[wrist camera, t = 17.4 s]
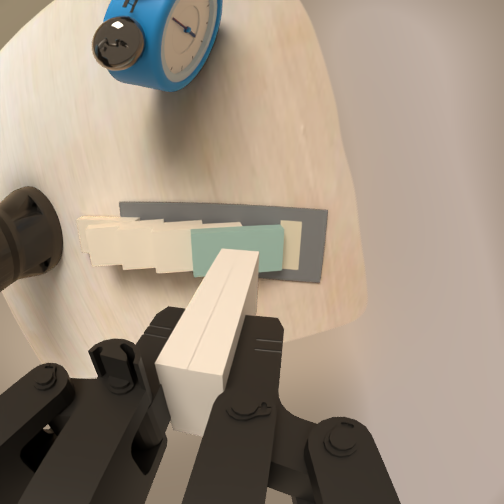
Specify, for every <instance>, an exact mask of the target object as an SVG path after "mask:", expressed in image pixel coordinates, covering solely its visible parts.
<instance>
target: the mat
mask: <svg viewBox="0 0 504 504" xmlns="http://www.w3.org/2000/svg"><path fill="white" fill-rule="evenodd" d="M119 207H120V216H121V217H138V218H140V221H142V220H155V219H164V223H165V222H179V221H194V220H202V224H212V223H230V222H240V223H241V225H242V226H257V225H279V224H280V225H281V226H282V227H283V228H284V244H283V261H282V270H281V271H269V272H258V278H266V279H278V280H291V281H304V282H318V283H320V278H321V270H322V262H323V253H324V244H325V235H326V225H327V214H328V210H321V209H308V208H293V207H278V206H260V205H240V204H217V203H184V202H119ZM188 272H193V271H188Z"/></svg>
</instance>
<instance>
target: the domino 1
mask: <svg viewBox="0 0 504 504" xmlns="http://www.w3.org/2000/svg"><path fill="white" fill-rule="evenodd" d="M76 221H77V228H78V234H79V240H80V245H81V250H82V253H89V249H88V244H87V238H86V232H85V229H86V228H87V227H88V225H97V224H107V223H119V222H130V221H140V218H138V217H101V216H82V217H80V218H78V219H76Z"/></svg>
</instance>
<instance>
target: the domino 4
mask: <svg viewBox="0 0 504 504" xmlns="http://www.w3.org/2000/svg"><path fill="white" fill-rule="evenodd" d="M237 226H242V225H241V223H240V222H230V223H212V224H196V225H180V226H166V227H153V229H152V241H153V250H154V259H155V267H156V273H171V272H185V271H193V261H192V246H191V229H202V228H219V227H237Z"/></svg>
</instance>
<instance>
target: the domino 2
mask: <svg viewBox="0 0 504 504" xmlns="http://www.w3.org/2000/svg"><path fill="white" fill-rule="evenodd" d="M152 223H164V219H155V220H142V221H130V222H119V223H107V224H97V225H88V227H87V228H86V229H85V232H86V238H87V244H88V249H89V254H90V260H91V265H92V267H94V266H109V265H122V260H121V254H120V248H119V241H118V234H117V230H118V228H119V226H127V225H139V224H152Z"/></svg>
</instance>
